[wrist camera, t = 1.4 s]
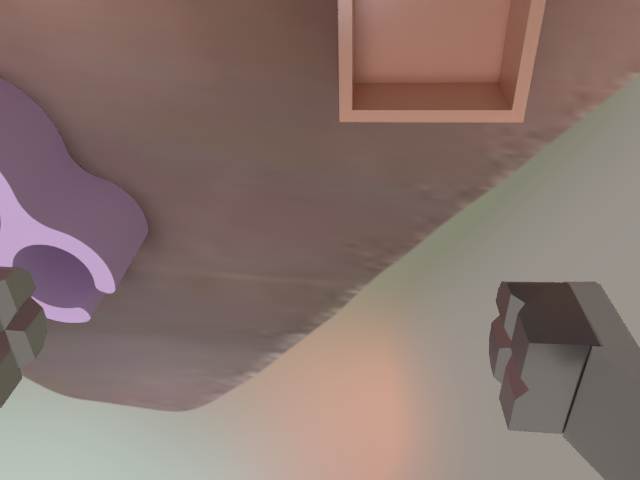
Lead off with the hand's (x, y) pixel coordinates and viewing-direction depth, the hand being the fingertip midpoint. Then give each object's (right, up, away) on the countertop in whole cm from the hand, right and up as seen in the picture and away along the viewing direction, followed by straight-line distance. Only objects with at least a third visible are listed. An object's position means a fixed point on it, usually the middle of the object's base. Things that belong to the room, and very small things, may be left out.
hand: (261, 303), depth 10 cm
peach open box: (+7, +15, +22) cm, 28 cm away
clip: (-21, +6, +32) cm, 39 cm away
